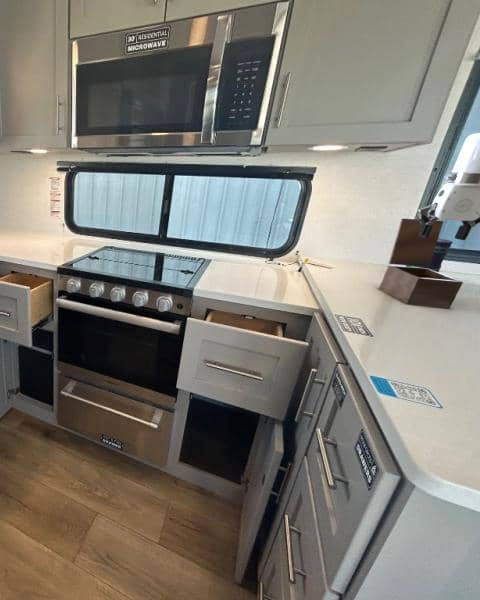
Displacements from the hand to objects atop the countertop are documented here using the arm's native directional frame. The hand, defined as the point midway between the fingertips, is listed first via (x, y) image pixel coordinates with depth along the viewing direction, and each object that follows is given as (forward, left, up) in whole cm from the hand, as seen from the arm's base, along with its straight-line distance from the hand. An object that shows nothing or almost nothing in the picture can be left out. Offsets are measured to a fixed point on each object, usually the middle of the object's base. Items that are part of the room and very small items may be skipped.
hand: (440, 238), depth 102 cm
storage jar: (-6, -38, -20) cm, 43 cm away
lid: (+4, -7, -3) cm, 9 cm away
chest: (0, 0, -20) cm, 20 cm away
